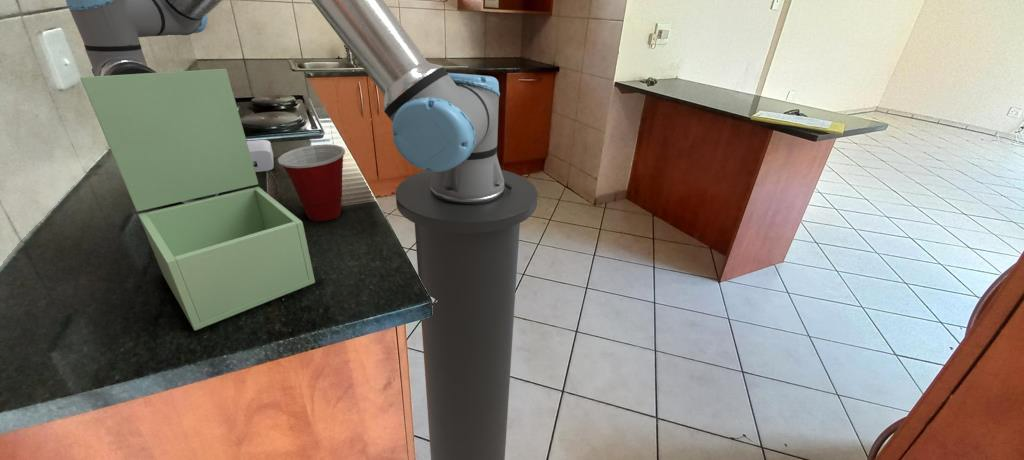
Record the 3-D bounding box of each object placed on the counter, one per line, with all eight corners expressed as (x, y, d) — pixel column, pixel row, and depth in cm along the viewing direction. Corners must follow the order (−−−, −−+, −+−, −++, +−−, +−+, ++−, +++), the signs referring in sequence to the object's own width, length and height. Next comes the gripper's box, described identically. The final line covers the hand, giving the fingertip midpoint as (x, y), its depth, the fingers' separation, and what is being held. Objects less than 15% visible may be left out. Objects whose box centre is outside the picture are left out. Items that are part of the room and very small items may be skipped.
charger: (273, 150, 109) (274, 170, 97) (231, 154, 105) (227, 175, 93) (269, 132, 106) (269, 150, 95) (226, 135, 103) (221, 154, 91)
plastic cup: (293, 205, 82) (280, 144, 76) (353, 199, 85) (344, 141, 79) (287, 231, 73) (272, 164, 67) (354, 224, 76) (345, 160, 70)
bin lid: (226, 69, 57) (224, 68, 58) (80, 77, 48) (80, 77, 48) (258, 184, 64) (256, 183, 65) (137, 211, 55) (135, 210, 55)
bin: (315, 282, 60) (302, 221, 56) (194, 331, 51) (166, 262, 46) (272, 241, 69) (258, 186, 65) (163, 276, 60) (137, 214, 55)
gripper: (188, 103, 77) (231, 132, 63) (92, 113, 68) (117, 149, 54) (174, 59, 73) (217, 79, 59) (71, 63, 65) (92, 88, 51)
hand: (169, 112), depth 57 cm, fingers closed
